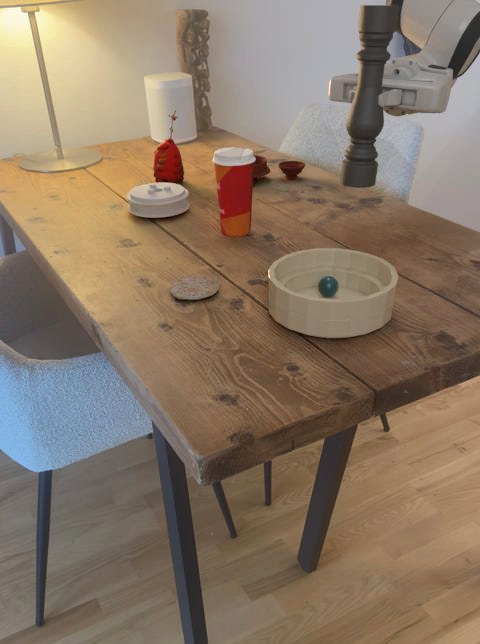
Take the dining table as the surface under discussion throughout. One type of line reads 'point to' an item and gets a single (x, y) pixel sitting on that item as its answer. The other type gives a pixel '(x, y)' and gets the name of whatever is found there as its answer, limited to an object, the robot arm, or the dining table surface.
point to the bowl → (340, 309)
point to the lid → (158, 200)
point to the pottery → (287, 167)
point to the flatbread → (194, 288)
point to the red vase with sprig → (168, 161)
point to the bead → (328, 286)
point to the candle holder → (368, 95)
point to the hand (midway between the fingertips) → (364, 99)
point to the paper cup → (234, 189)
